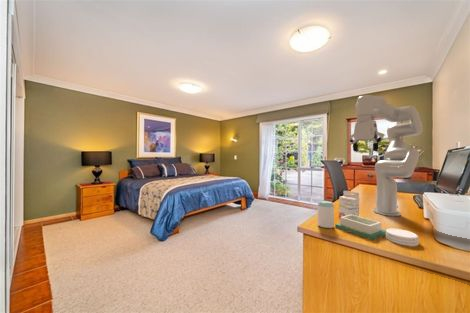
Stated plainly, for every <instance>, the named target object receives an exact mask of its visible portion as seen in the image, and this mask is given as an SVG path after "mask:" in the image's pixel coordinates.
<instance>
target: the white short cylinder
mask: <svg viewBox="0 0 470 313" xmlns="http://www.w3.org/2000/svg"><path fill="white" fill-rule="evenodd" d="M385 230H386V235H385V238H386V239H387V240H388V241H389V242H392V243H394V244H397V245H399V246H400V245H401V246H405V247H417V246H419V236H418V235H417V234H416V233H414V232H412V231H410V230H406V229H403V228H402V229H401V228H393V227H392V228H391V227H390V228H387V229H385Z"/></svg>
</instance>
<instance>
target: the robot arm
mask: <svg viewBox="0 0 470 313" xmlns="http://www.w3.org/2000/svg"><path fill="white" fill-rule="evenodd" d="M354 108H355V111H356V122H355V125H354V130H353V134H351V135H349V136H348V140H349V142H350V143H351V144H352V150H353V152H359V145H358V143H359V142H362V141H365V142H367V141H372V142H373V143H372V151H373V152H378V150H379V144H380V142H382V140H383V139H384V137H385V133H382V132H379V131H378V125H377V121H376V120H375V119H378V118H380V119H383V120H385V121H387V122H390V123H394V124H391V125H389V126H388V127H387V130H386V134H387V139H388V142H389V143H388V147H387V148H386V150H385V152H384V155H383V159H382V160H379V161H377V162H375V165H374V170H375V176H376V208H373V212H374V213H375V214H378V215H382V216H390V217H398V216H401V212H400V211H398V208H399V206H398V184H397V182H396V180H395V178H410V177H412V175H413V174H414V171H415V169H416V166H417V164H418V162H419V157H420V152H419V150H418V148H415V147H410V146H409V147H407V142H406V141H405V140H404V139H402V138H404V137H416V136H419V135H421V134H422V133H423V131H424V129H423V128H424V127H423V123H422V120H421V118H420V114H419V112H418V110H417V108H416V107H415V106H413V105H406V106H401V107H397V106H395V105H393V104H391V103H387V99H386V98H385V97H384V96H381V95H380V96H379V95H378V96H377V95H376V96H375V95H372V94H365V95H360V96H359V97H358V98H357V100H356V103H355V105H354ZM407 121H409V122H407ZM399 122H402V123H399ZM395 123H396V124H395ZM394 177H395V178H394Z"/></svg>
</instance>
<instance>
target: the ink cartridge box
mask: <svg viewBox="0 0 470 313" xmlns="http://www.w3.org/2000/svg"><path fill="white" fill-rule="evenodd" d="M342 194H343V195H342V196H339V197H338V199H339V200H338V202H339V203H338V218H340V217H343V216H347V215H351V214H352V215H355V216H359V217H360V193H359V192H356V191H349V190H343V192H342Z"/></svg>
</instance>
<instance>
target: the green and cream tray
mask: <svg viewBox="0 0 470 313" xmlns="http://www.w3.org/2000/svg"><path fill="white" fill-rule="evenodd" d="M334 227H335V228H336V229H340V230H342V231H345V232H348V233H351V234H354V235H358V236H360V237H362V238H365V239H368V240H371V241H373V240H376V239H379V238H381V237H383V236H386V230H387V229H382V222H381V221H378V220H373V219H370V218H366V217H362V216H360V215H359V216H355V215H352V214H351V215H347V216H343V217H339V222H338V223H334Z"/></svg>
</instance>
